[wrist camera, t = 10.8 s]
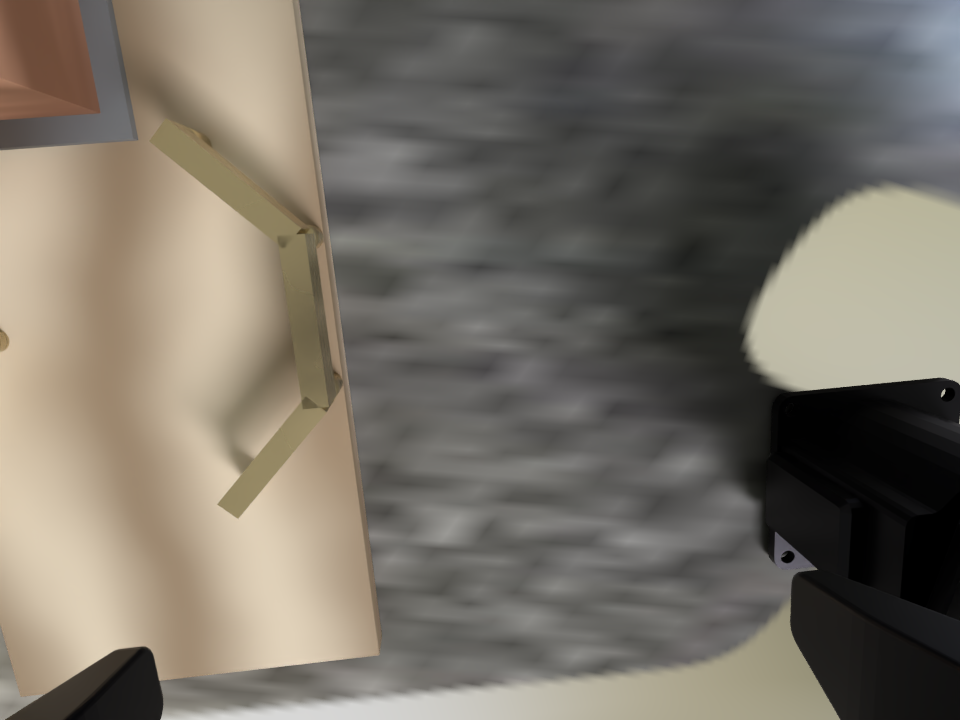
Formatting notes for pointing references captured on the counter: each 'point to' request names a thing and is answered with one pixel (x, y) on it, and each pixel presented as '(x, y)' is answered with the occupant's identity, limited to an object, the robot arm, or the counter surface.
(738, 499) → the counter surface
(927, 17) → the counter surface
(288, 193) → the beige board
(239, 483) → the bent wooden frame
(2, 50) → the block
